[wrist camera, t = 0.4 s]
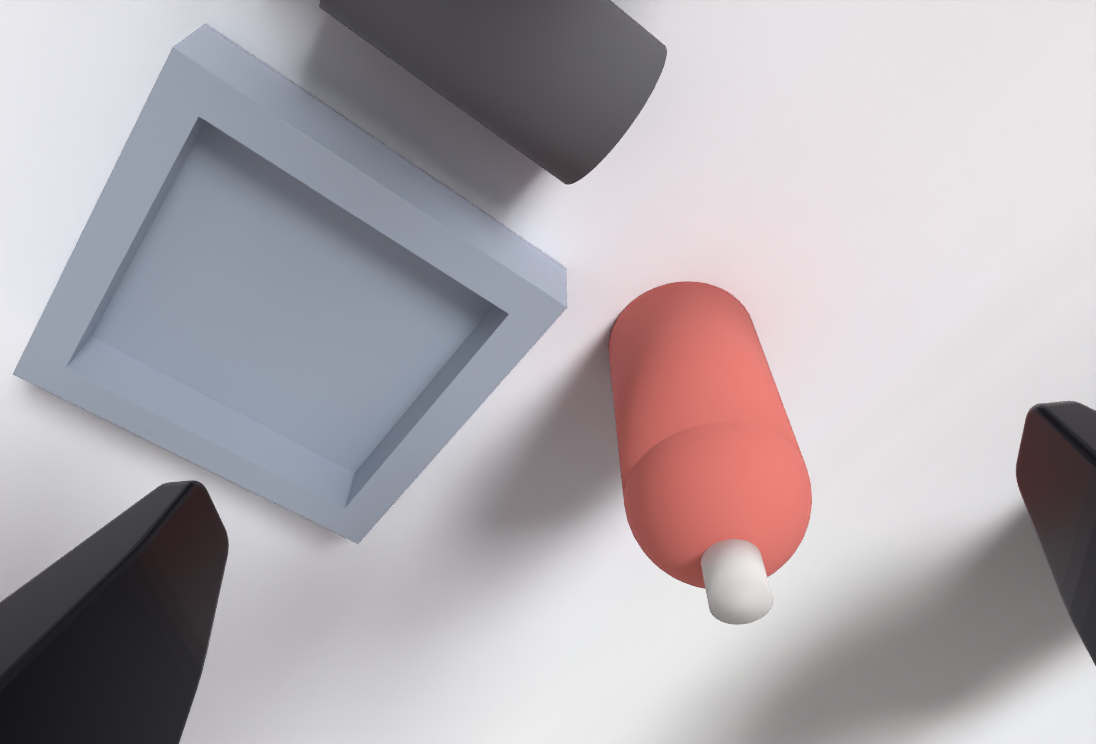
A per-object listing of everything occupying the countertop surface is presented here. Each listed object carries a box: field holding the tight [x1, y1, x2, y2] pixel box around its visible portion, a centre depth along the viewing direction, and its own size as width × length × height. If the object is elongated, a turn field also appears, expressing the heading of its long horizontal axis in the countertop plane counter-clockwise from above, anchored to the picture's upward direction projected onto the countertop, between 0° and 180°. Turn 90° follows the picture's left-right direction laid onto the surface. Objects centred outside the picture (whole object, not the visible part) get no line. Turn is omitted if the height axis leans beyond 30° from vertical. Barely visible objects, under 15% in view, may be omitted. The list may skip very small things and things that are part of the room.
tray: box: [13, 24, 567, 544], centre depth 22 cm, size 10×10×2 cm
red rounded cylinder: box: [609, 282, 812, 624], centre depth 20 cm, size 4×4×9 cm
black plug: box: [319, 0, 667, 184], centre depth 17 cm, size 7×4×4 cm, turn 53°
